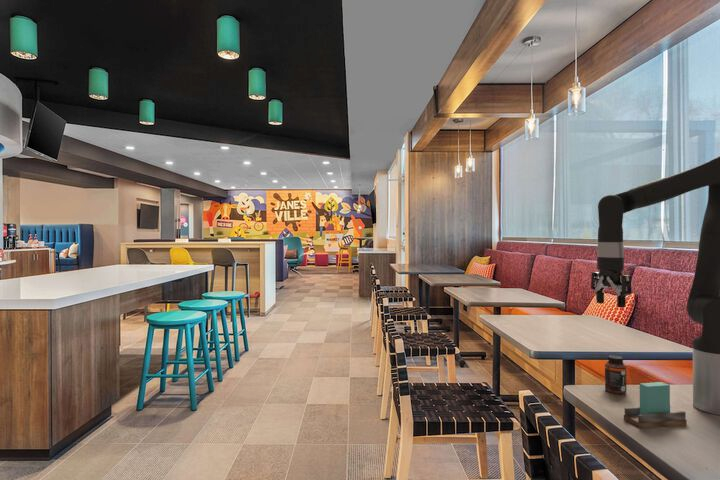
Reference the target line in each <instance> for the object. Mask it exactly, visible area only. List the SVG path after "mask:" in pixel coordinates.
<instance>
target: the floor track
mask: <svg viewBox="0 0 720 480" xmlns="http://www.w3.org/2000/svg"><path fill="white" fill-rule="evenodd" d="M686 412H687V411H684V410H681V411H670V412H667V413H655V414H642V415H640V406H634V407H624V414H623V421H627V422H628V423H630V424H632V425H633V426H635V427H638V428H639V429H650V428H653V429H654V428H660V427H673V426H674V427H675V426H682V425H683V426H684V425H685V426H686V425H687V424H688V423H687V422H688V420H687V419H686Z"/></svg>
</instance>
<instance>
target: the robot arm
mask: <svg viewBox="0 0 720 480" xmlns="http://www.w3.org/2000/svg"><path fill="white" fill-rule="evenodd" d="M704 187H708V191H707V192H708V195H707V196H708V197H707V203H706V207H705V212H704V215H703V218H702V219H703V220H702V224H701V229H700V235H699V244H698V251H697V257H696V258H697V260H696V264H695V269H694V276H693V279H692V280H693V281H692V284H691V288H690V290H689V294H688V297H687V303H686V312H687V313H686V314H687V315H688V317H689V319H690V320H691V321H693V322H695V323H697V324H699V325H702V329H701V330H702V331H701V335H700V336H696V337H694V338H693V339H692V406H693V407H694V408H695V409H698V410H700V411H702V412H706V413H709V414H712V415H717V416H720V155H719V156H717V157H715V158H713V159H711V160H708V161H706V162H704V163H702V164H700V165H697V166H695V167H692V168H690V169H687V170H684V171H681V172H678V173H676V174H673V175H668V176H665V177H662V178H659V179H655V180H652V181H649V182H647V183H643V184H641V185H637V186H635V187H632V188H631V189H628V190H625V191H622V192H620V193H617V194H607V195H605V196H602V197H601V199H599V201H598V204H597V211H598V212H597V213H598V230H597V245H596V246H597V247H596V268H597V269H596V270H598V271H595V272H594V271H593V272H591V276H590V277H591V278H590V282H591V283H590V289H591V290H594V291H595V295H596V296H595V297H596V299H595V300H596V304H604V303H605V292H604V291H605V289H606V288H608V287H609V288H611V289H613V290H614V291H615V292H616V294H617V296H616V307H617V308H625V307H626V303H627V301H626V298H627V297H626V296H627V295H628V296H629V295H632V294H633V292H632V291H633V290H632V289H633V288H632V276H631V275H630V274H623V271H624V270H625V248H624V229H623V221H624V214H626V213H628V212H631V211H634V210H637V209H642V208H646V207H649V206H653V205H656V204H659V203H662V202H665V201H668V200H671V199H674V198H676V197H678V196H682V195H683V194H684V195H685V194H687V193H689V192H692V191H694V190H699V189H701V188H704Z"/></svg>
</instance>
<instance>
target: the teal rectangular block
mask: <svg viewBox="0 0 720 480" xmlns="http://www.w3.org/2000/svg"><path fill="white" fill-rule="evenodd" d="M639 407H640V415H642V414H655V413H667V412H671V385H670V384H667V383H665V382H664V381H663V382H662V381H657V382H645V383H641V382H640V383H639Z"/></svg>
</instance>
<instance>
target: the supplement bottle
mask: <svg viewBox="0 0 720 480" xmlns="http://www.w3.org/2000/svg"><path fill="white" fill-rule="evenodd" d="M607 358H608V361H605V363H604V364H605V365H604V388H605V390H606V391H607V392H609V393H611V394H616V395H625V394H626V393H627V388H628V386H627V366H626V364H625V363H624V359H623V356H620V355H614V354H613V355H611V354H610V355H608V357H607Z"/></svg>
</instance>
